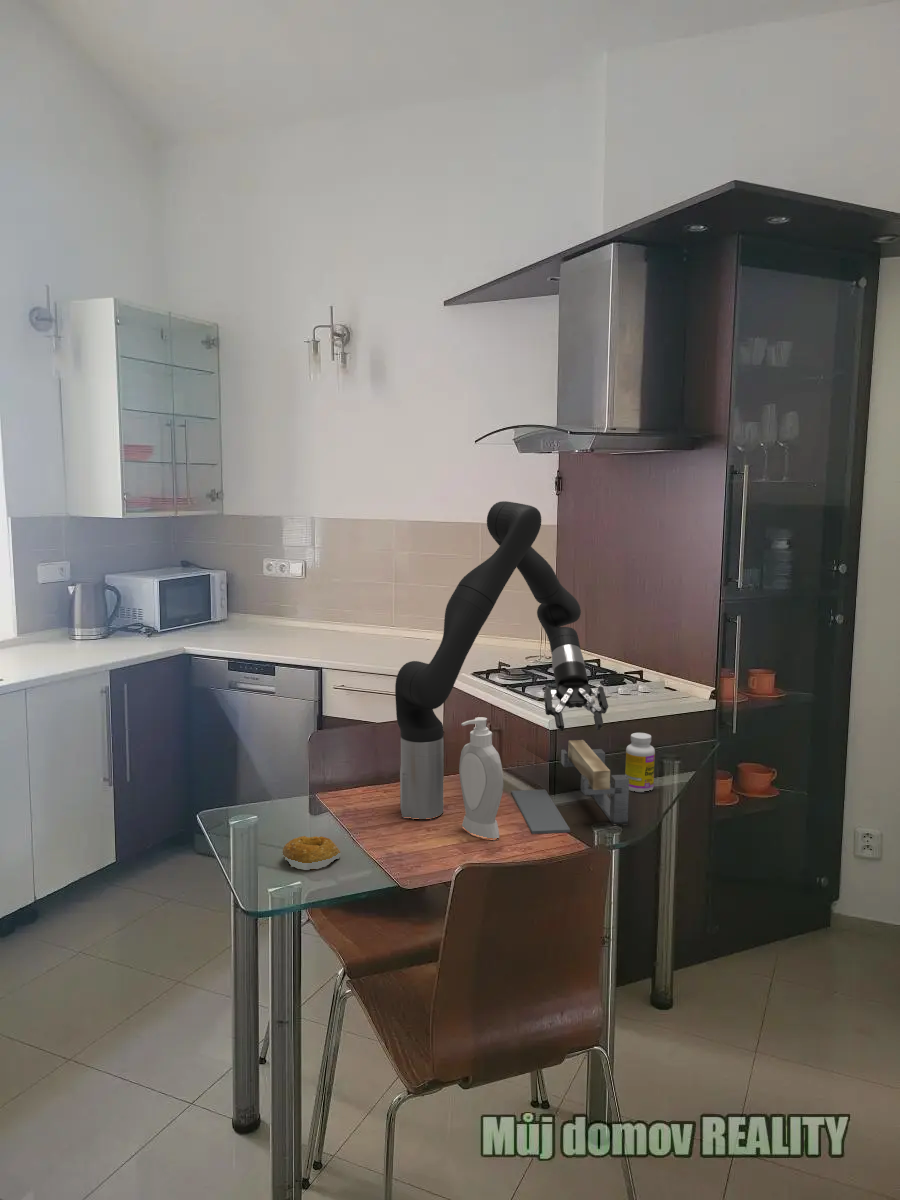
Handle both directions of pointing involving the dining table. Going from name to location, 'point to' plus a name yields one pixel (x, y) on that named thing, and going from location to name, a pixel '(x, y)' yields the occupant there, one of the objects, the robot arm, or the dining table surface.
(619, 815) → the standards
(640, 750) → the supplement bottle
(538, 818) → the mat
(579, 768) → the rail
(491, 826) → the soap bottle
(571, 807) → the dining table surface
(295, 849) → the bagel
